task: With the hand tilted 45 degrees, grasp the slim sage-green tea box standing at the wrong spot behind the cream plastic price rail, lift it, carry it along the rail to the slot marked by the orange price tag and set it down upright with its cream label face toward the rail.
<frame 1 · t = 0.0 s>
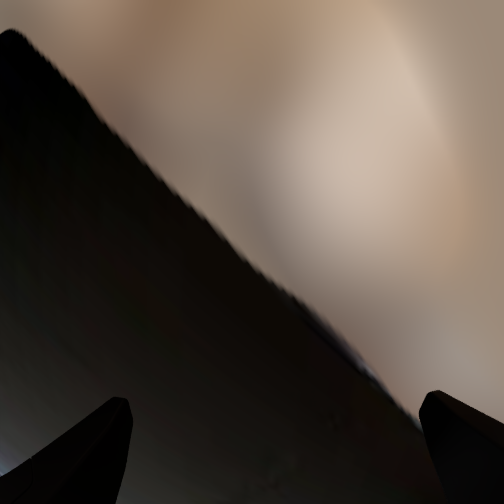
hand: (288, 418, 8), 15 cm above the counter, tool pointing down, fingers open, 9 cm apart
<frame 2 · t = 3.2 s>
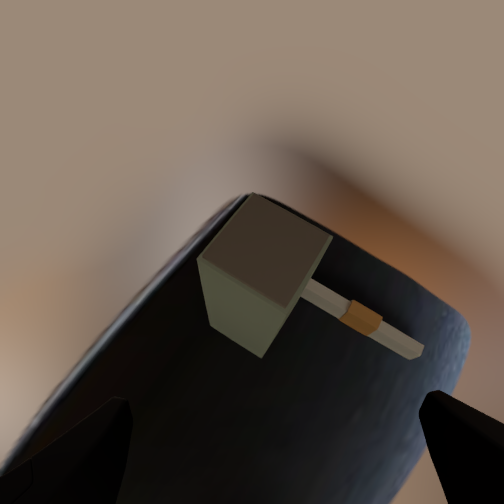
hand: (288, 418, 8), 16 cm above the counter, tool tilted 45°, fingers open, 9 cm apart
price rail: (336, 311, 27), on the counter
tea box: (252, 318, 26), on the counter
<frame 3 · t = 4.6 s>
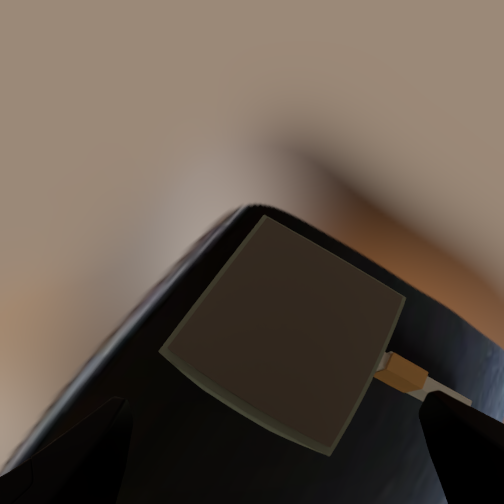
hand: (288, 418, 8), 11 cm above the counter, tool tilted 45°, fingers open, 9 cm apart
price rail: (368, 364, 19), on the counter
tea box: (257, 377, 18), on the counter
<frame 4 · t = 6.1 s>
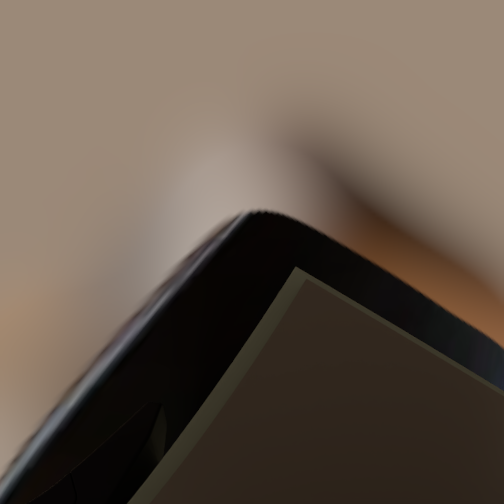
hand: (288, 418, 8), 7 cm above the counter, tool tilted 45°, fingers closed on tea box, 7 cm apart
tea box: (263, 441, 13), on the counter, touching gripper
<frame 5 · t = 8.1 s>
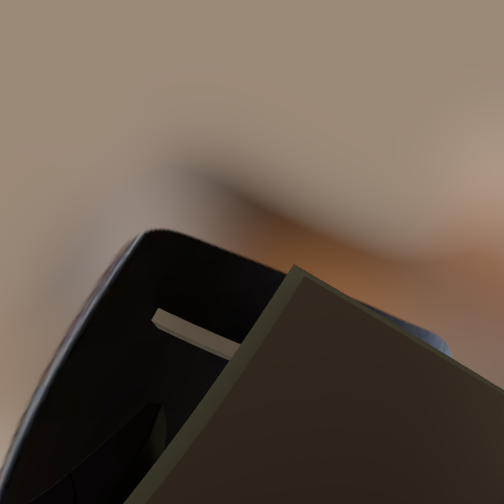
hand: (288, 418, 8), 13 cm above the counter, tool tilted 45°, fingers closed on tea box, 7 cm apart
price rail: (269, 368, 21), on the counter
tea box: (262, 441, 13), point 7 cm above the counter, touching gripper
when the fingers open (7 cm above the counter, at t = 10.2 s): tea box stays where it is, on the counter.
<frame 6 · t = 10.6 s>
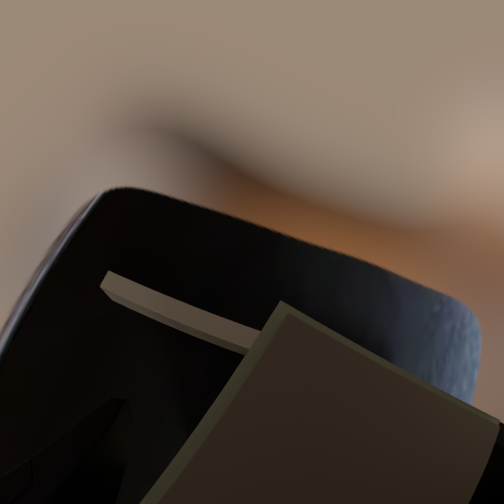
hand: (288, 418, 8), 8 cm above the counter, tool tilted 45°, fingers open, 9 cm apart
price rail: (253, 348, 16), on the counter
tea box: (261, 441, 14), on the counter
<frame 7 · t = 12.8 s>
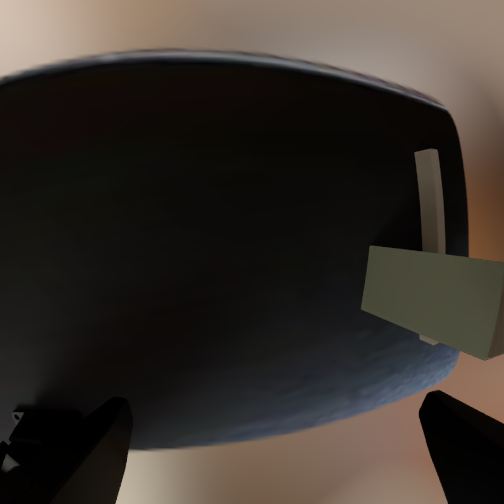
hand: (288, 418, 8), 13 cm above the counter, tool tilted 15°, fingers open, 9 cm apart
price rail: (425, 248, 25), on the counter
tea box: (389, 279, 24), on the counter
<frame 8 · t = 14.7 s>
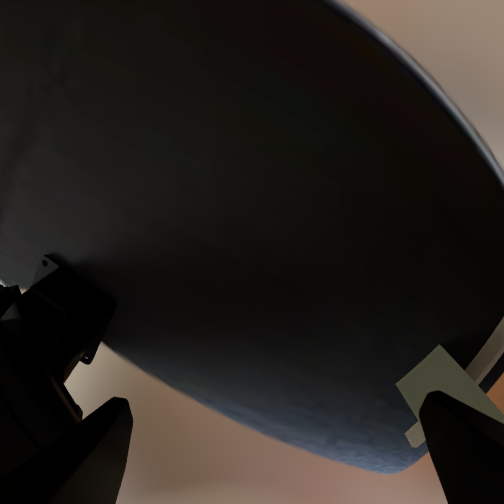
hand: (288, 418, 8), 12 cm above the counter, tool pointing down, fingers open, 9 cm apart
price rail: (464, 374, 23), on the counter
tea box: (428, 377, 23), on the counter
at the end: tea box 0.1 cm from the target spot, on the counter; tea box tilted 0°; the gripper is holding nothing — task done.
